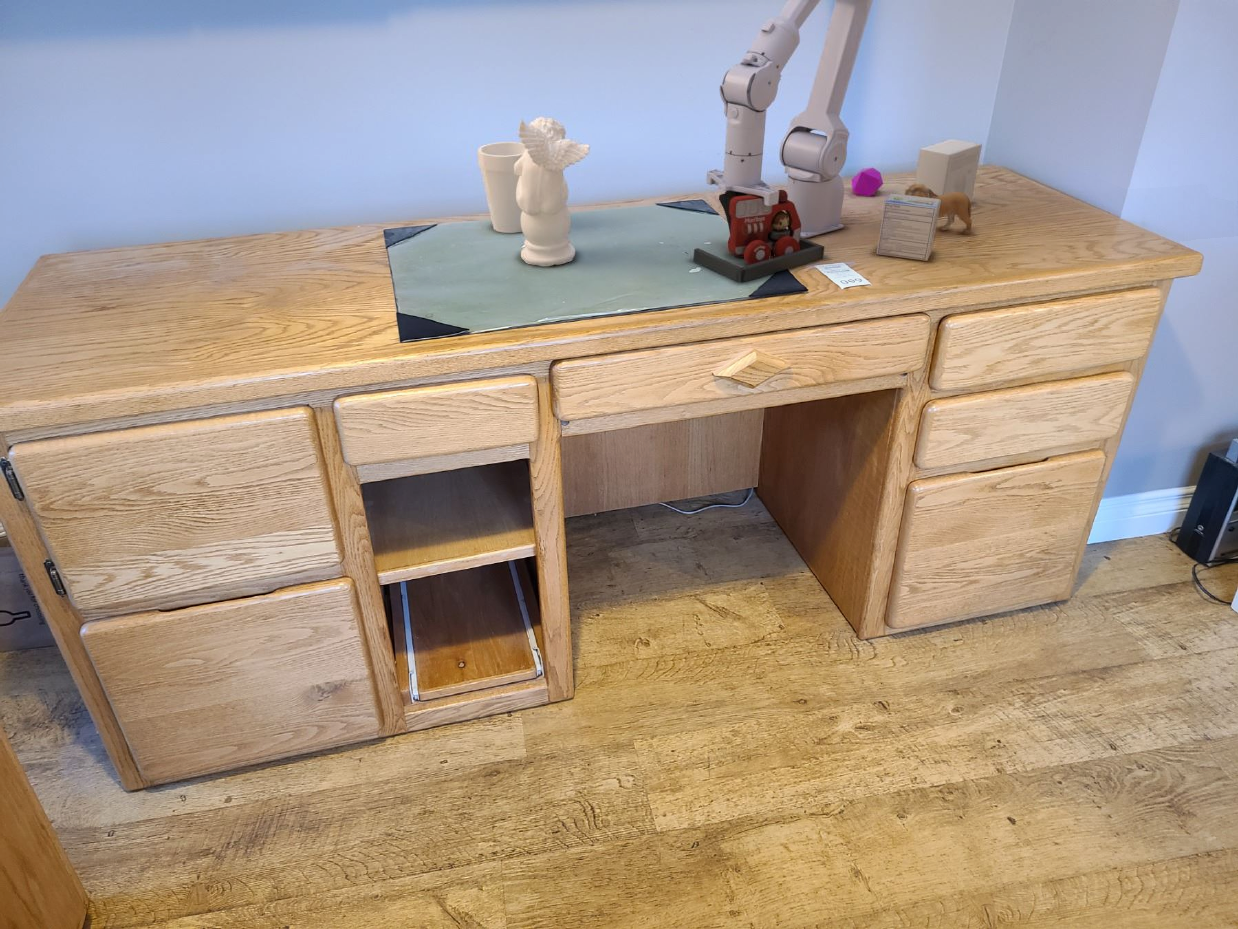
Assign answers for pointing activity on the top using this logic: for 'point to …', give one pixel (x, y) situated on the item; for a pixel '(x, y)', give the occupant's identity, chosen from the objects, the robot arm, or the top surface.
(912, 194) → the lion figurine
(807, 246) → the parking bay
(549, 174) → the cherub figurine
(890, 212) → the medicine box
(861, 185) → the crystal
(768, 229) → the toy fire truck
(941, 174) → the cosmetics box
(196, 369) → the top surface
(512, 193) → the white flower pot
